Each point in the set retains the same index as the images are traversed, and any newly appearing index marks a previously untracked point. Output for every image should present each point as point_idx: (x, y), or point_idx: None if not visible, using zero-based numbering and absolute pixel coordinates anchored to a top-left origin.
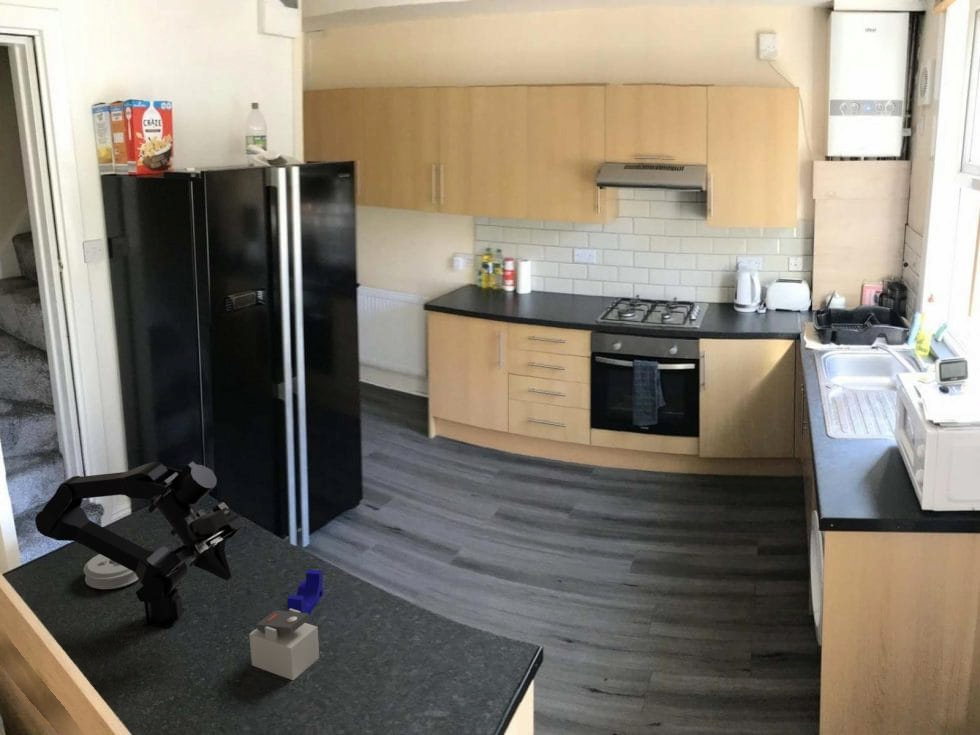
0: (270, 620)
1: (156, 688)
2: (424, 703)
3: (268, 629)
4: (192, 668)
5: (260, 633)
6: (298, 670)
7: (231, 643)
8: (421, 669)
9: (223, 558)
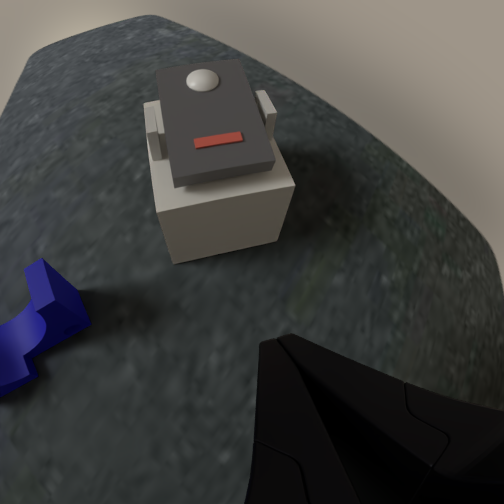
0: (235, 132)
1: (460, 317)
2: (158, 41)
3: (272, 105)
4: (389, 333)
5: None
6: None
7: None
8: (99, 72)
9: (303, 455)
